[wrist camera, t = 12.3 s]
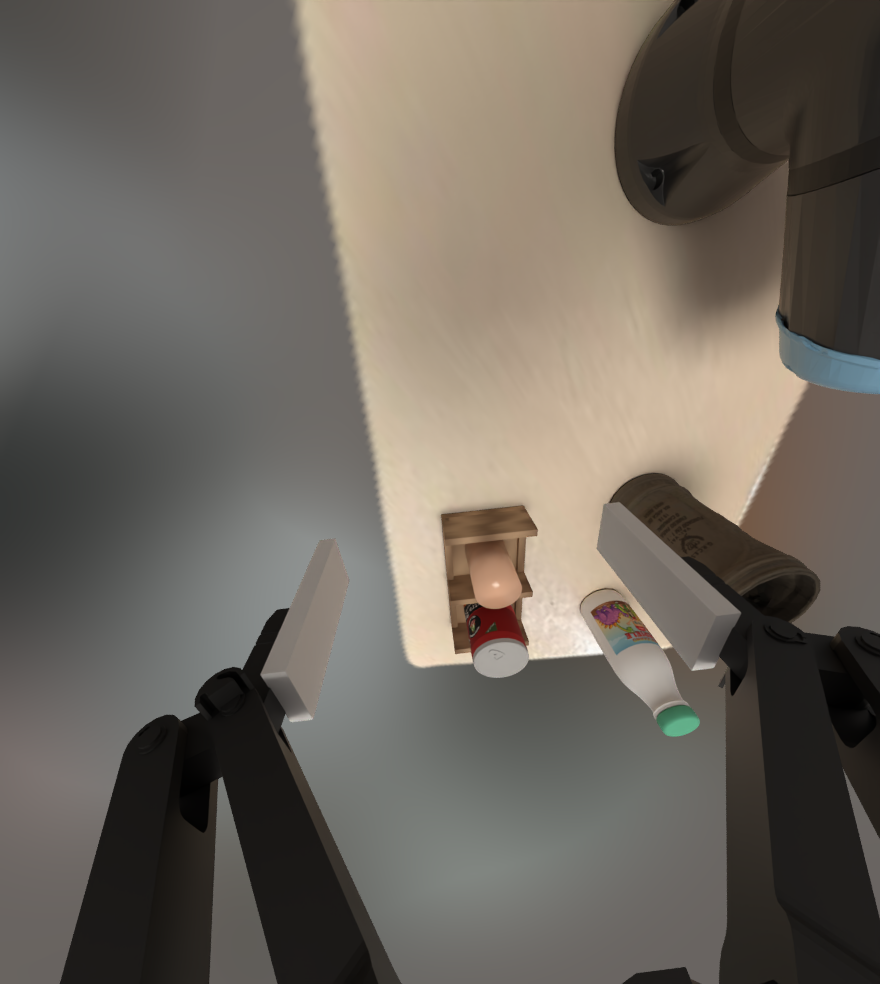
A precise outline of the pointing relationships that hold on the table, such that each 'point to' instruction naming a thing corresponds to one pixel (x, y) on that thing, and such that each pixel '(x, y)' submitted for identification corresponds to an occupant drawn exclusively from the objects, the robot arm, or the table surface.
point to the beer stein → (721, 547)
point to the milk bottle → (638, 660)
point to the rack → (457, 533)
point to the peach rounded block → (492, 574)
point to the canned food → (495, 640)
